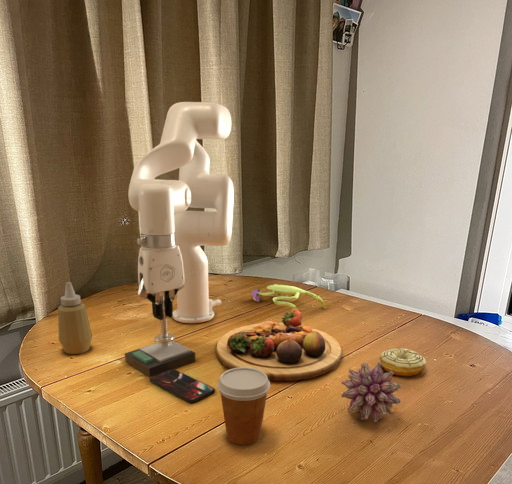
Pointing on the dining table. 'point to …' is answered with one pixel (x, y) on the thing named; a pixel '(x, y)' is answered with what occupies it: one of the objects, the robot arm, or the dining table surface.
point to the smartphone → (182, 385)
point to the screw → (164, 328)
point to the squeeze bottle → (73, 323)
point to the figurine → (285, 294)
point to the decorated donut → (402, 361)
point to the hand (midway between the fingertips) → (163, 316)
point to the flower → (371, 391)
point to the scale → (159, 358)
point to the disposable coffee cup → (243, 403)
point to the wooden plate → (280, 349)
